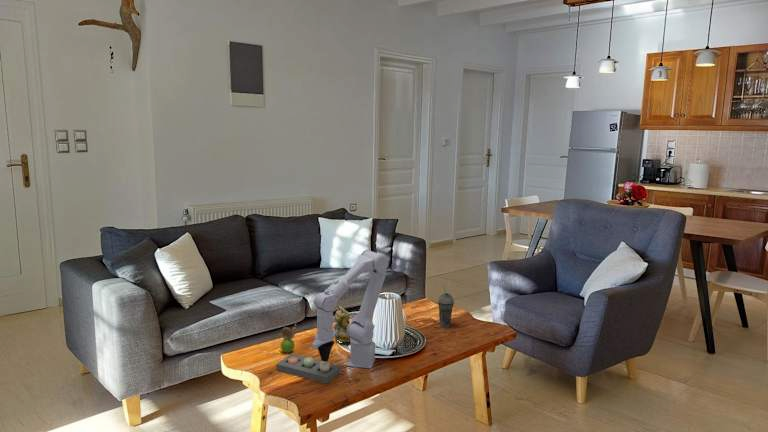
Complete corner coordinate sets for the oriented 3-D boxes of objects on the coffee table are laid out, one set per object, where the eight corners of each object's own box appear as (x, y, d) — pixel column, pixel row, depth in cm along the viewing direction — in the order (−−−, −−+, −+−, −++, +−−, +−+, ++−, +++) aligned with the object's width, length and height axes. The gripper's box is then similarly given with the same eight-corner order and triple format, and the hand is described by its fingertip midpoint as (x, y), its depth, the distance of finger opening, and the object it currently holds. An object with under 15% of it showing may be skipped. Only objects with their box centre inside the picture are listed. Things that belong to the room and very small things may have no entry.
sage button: (315, 365, 202) (315, 358, 201) (310, 369, 198) (310, 362, 198) (307, 363, 203) (307, 356, 203) (301, 367, 200) (301, 360, 199)
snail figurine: (293, 355, 214) (293, 327, 211) (278, 353, 215) (278, 325, 213) (298, 349, 219) (298, 322, 217) (283, 348, 220) (283, 320, 218)
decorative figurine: (331, 337, 232) (331, 304, 229) (348, 334, 235) (349, 301, 232) (339, 346, 223) (339, 312, 220) (357, 343, 227) (358, 309, 224)
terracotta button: (299, 365, 205) (299, 358, 204) (294, 369, 202) (294, 361, 201) (291, 363, 206) (291, 356, 206) (286, 367, 203) (286, 359, 203)
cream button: (331, 369, 199) (331, 362, 198) (326, 374, 196) (326, 366, 195) (323, 367, 200) (323, 360, 200) (317, 371, 197) (317, 364, 197)
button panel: (340, 372, 201) (340, 365, 201) (326, 383, 192) (326, 377, 192) (292, 359, 210) (291, 353, 210) (276, 370, 201) (276, 364, 201)
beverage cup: (453, 329, 244) (455, 287, 240) (437, 328, 244) (439, 286, 240) (451, 323, 251) (454, 282, 247) (436, 322, 251) (438, 281, 247)
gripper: (326, 317, 203) (325, 350, 205) (304, 330, 190) (304, 366, 192) (342, 320, 200) (341, 354, 202) (321, 334, 187) (321, 370, 189)
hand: (324, 360), depth 197 cm, fingers closed
